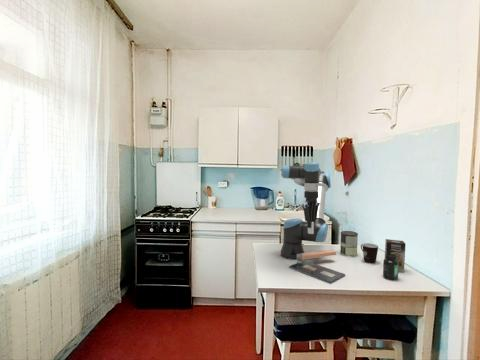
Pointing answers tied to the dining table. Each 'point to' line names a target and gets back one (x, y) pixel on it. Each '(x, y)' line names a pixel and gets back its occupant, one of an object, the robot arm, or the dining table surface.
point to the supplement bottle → (390, 267)
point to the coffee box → (396, 251)
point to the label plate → (317, 271)
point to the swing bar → (315, 254)
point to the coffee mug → (369, 252)
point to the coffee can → (349, 243)
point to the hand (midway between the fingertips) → (310, 233)
